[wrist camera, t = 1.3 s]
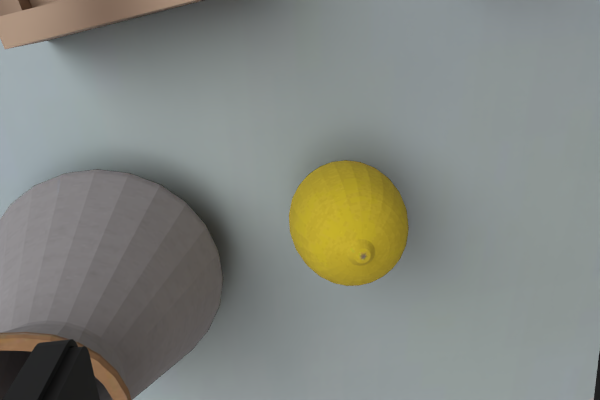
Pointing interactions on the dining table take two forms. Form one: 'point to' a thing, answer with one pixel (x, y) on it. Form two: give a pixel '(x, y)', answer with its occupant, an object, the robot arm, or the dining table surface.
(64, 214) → the coffee pot
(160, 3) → the walnut tray
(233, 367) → the dining table surface
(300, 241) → the lemon
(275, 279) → the dining table surface
